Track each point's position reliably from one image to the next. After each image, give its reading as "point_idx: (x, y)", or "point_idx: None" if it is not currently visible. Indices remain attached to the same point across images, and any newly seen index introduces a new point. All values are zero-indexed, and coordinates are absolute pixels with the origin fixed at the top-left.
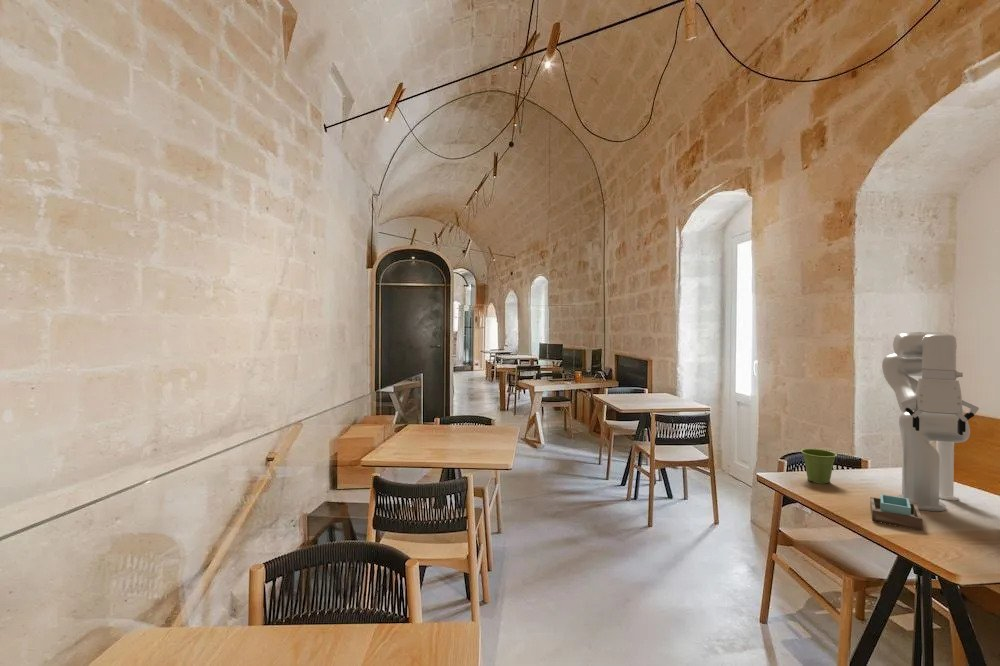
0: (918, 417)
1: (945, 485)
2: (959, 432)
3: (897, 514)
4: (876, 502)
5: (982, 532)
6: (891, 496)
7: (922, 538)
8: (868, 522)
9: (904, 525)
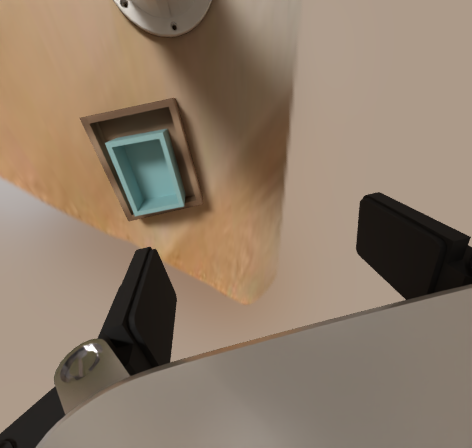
0: (143, 341)
1: None
2: (364, 259)
3: (166, 211)
4: (99, 121)
5: (279, 121)
6: (129, 143)
7: (208, 230)
8: None
9: None
